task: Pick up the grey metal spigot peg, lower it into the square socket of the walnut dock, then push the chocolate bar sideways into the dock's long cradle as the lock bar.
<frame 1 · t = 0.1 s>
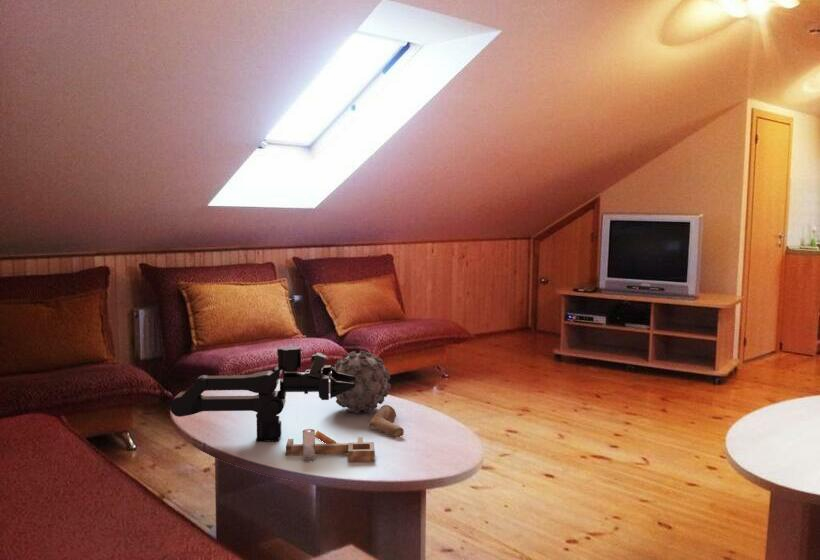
hand: (355, 381, 209), 17 cm above the table, tool horizontal, fingers open, 9 cm apart
pipe: (389, 431, 217), on the table
ornament: (359, 411, 238), on the table
dock: (335, 450, 198), on the table
chocolate bar: (326, 443, 206), on the table
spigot: (309, 459, 191), on the table
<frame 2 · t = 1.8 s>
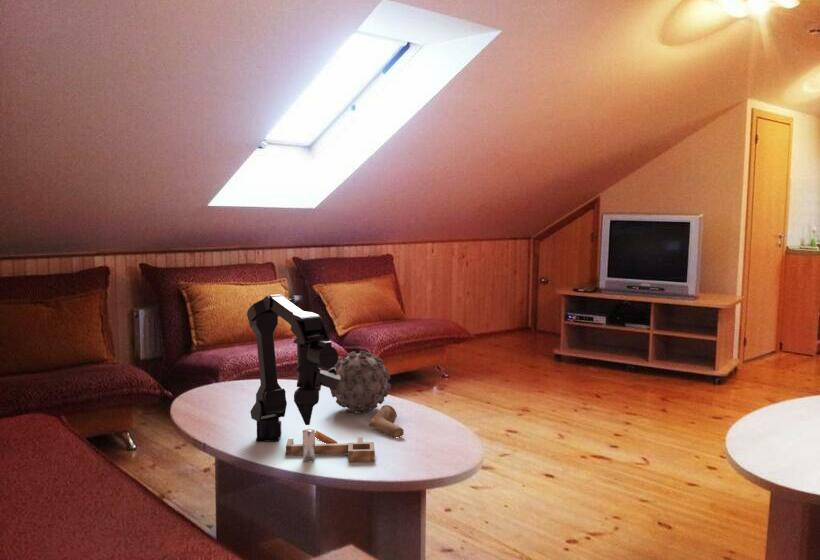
hand: (308, 419, 190), 11 cm above the table, tool pointing down, fingers open, 9 cm apart
nothing on the table moved.
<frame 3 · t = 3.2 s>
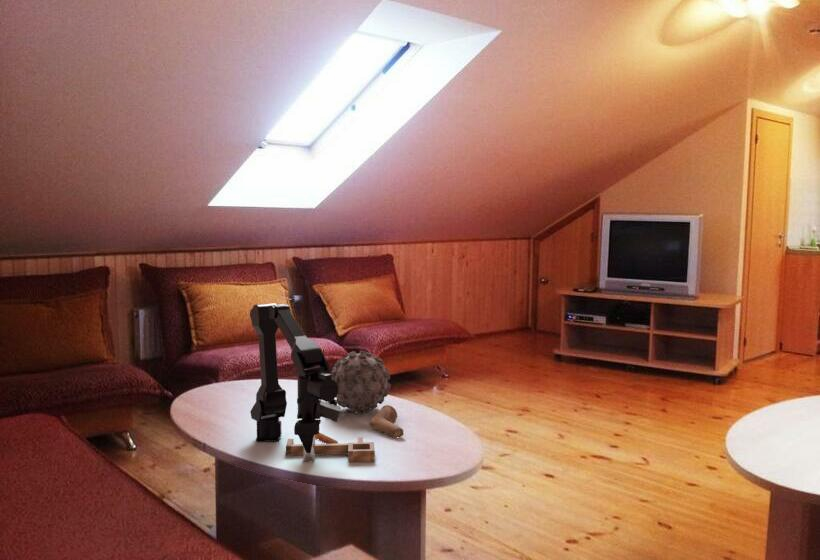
hand: (309, 450, 191), 3 cm above the table, tool pointing down, fingers closed on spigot, 3 cm apart
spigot: (309, 459, 191), on the table, touching gripper
everything else where it was.
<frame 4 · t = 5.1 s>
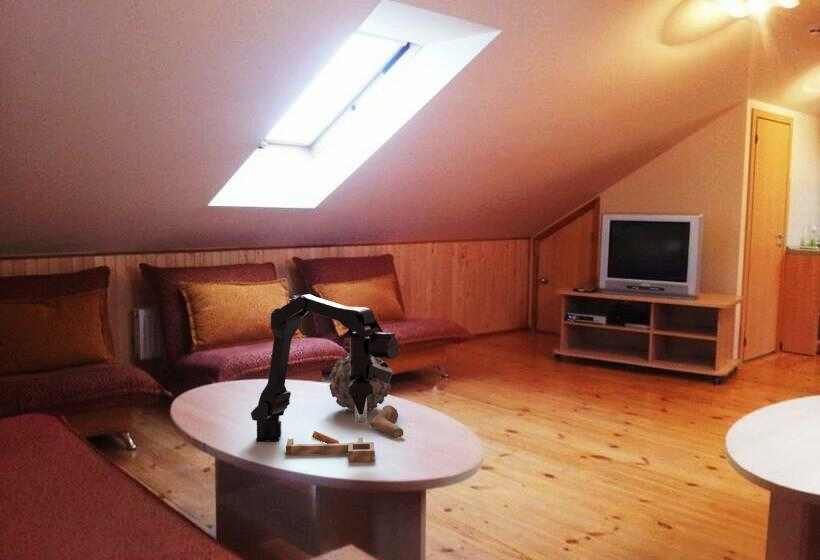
hand: (360, 412, 192), 12 cm above the table, tool pointing down, fingers closed on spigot, 3 cm apart
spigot: (360, 421, 192), point 10 cm above the table, touching gripper
everything else where it was.
when the fingers open (3 cm above the table, at t = 6.9 s): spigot stays where it is, resting in dock.
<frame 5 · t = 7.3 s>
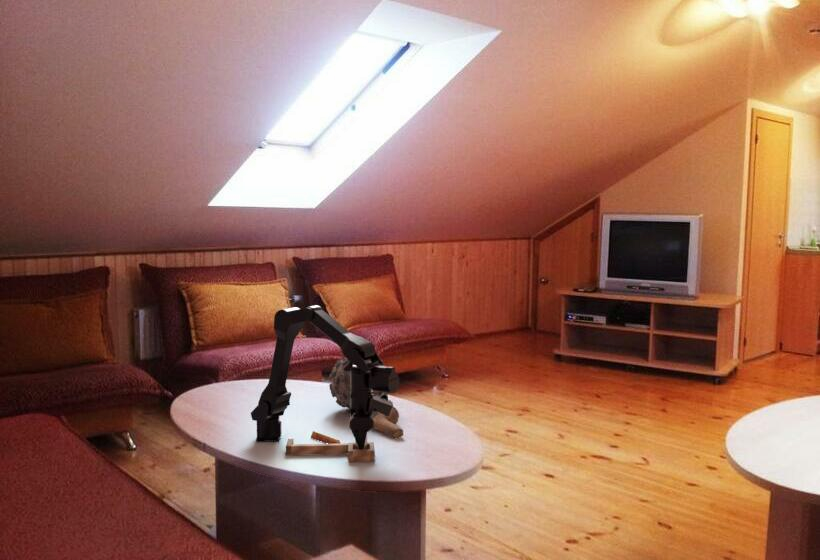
hand: (361, 444, 193), 3 cm above the table, tool pointing down, fingers open, 7 cm apart
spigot: (361, 457, 193), resting in dock
everything else where it was.
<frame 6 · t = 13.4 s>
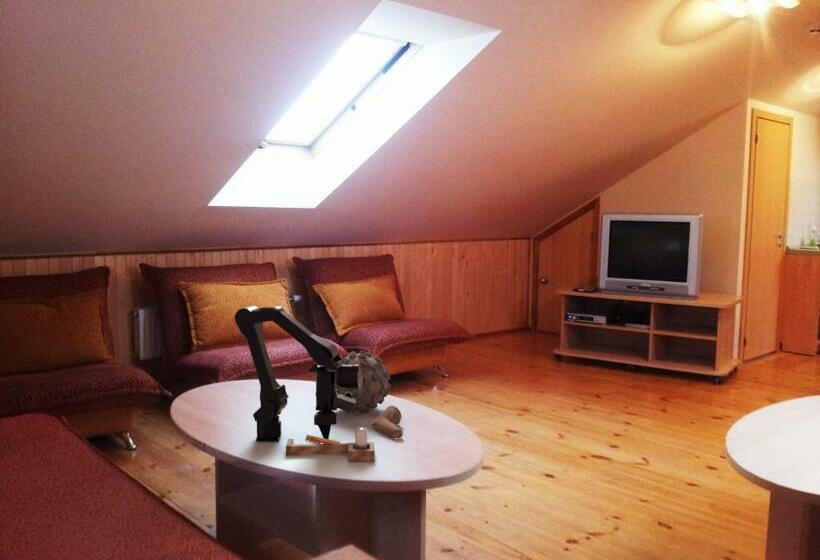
hand: (326, 440, 205), 1 cm above the table, tool pointing down, fingers closed
chocolate bar: (323, 446, 205), on the table, touching gripper
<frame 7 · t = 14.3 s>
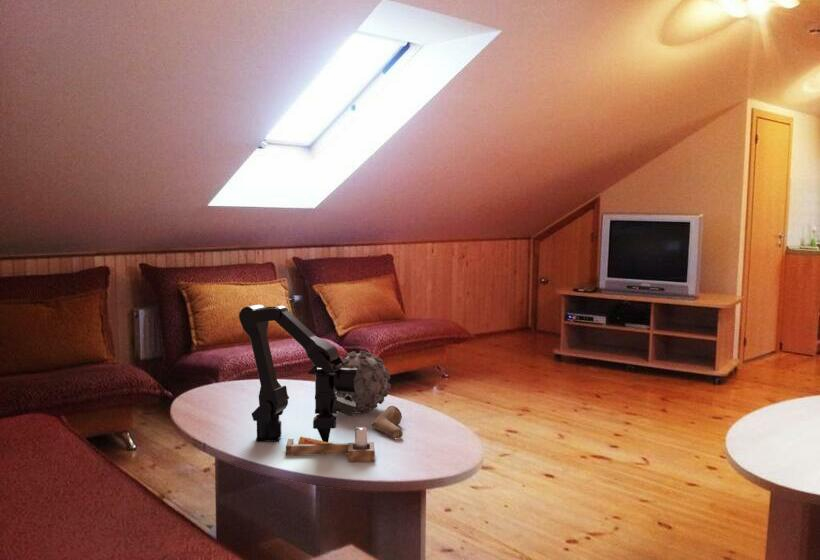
hand: (325, 443, 202), 1 cm above the table, tool pointing down, fingers closed
chocolate bar: (316, 448, 202), on the table, touching gripper
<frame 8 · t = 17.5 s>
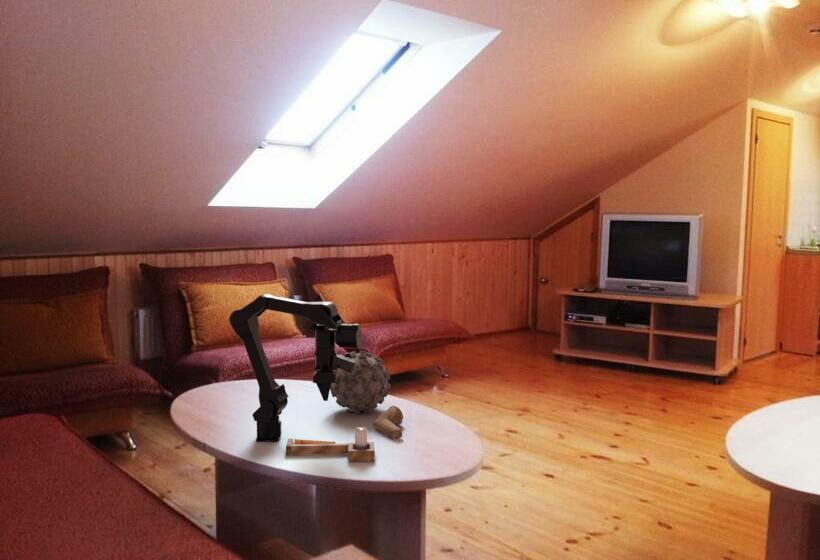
hand: (325, 400, 203), 12 cm above the table, tool pointing down, fingers closed
chocolate bar: (314, 449, 202), on the table
at the end: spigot 0.0 cm from the target spot on the dock, point 0.0 cm above the dock's base; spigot tilted 1°; chocolate bar inside the target area (4.0 cm from its centre), on the table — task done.
